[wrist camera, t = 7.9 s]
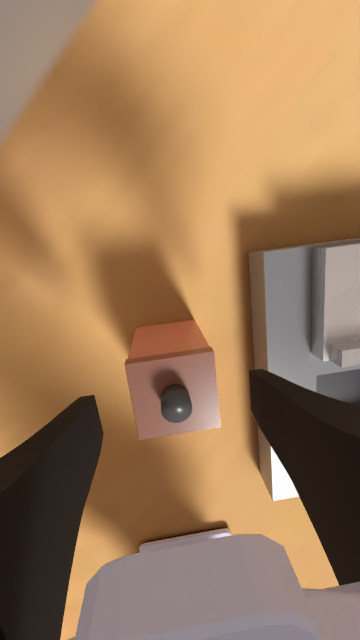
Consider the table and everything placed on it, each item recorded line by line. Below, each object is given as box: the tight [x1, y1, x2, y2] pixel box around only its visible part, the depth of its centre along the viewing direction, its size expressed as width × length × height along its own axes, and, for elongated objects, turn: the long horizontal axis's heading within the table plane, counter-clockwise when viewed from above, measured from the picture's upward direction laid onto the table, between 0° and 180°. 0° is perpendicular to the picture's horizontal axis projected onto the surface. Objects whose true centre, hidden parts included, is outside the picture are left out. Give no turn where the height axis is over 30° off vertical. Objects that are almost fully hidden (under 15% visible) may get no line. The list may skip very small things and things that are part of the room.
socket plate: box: [248, 237, 360, 501], centre depth 18 cm, size 18×12×2 cm, turn 7°
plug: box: [125, 320, 221, 440], centre depth 15 cm, size 4×4×7 cm
